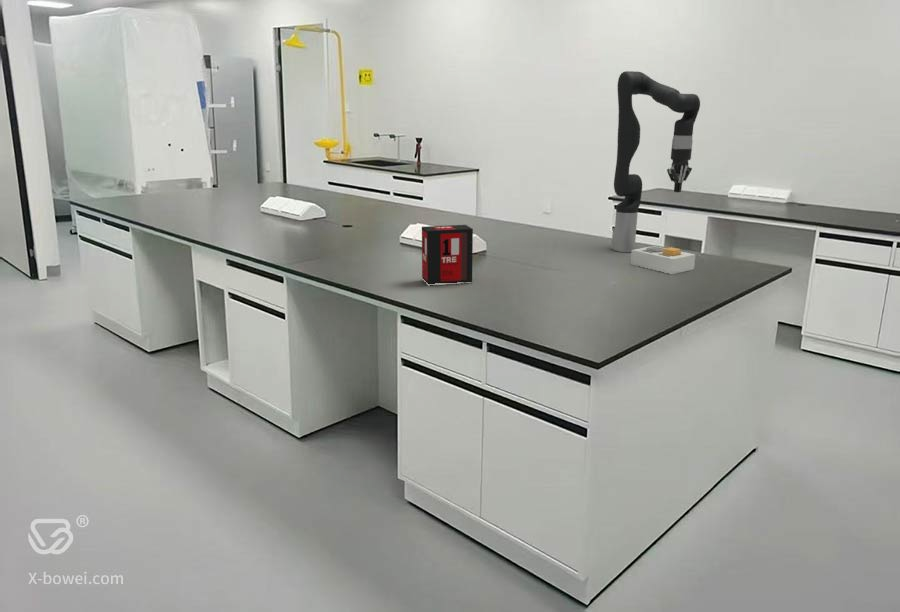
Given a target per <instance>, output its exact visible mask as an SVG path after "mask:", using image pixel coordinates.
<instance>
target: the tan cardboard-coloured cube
mask: <svg viewBox="0 0 900 612" xmlns="http://www.w3.org/2000/svg"><path fill="white" fill-rule="evenodd" d="M663 248H664V249H663V254H664V255H669V256H678V255H680V254H681V252H682V249H681V248H676V247H666V248H665V247H663Z"/></svg>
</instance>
